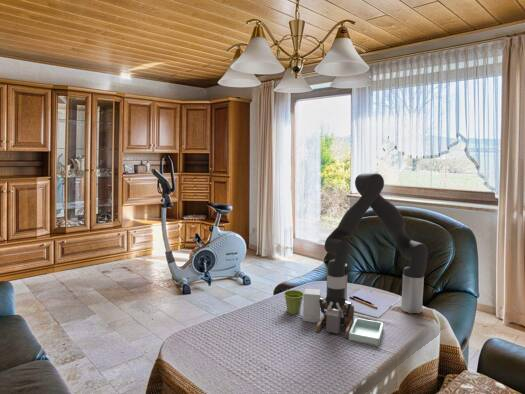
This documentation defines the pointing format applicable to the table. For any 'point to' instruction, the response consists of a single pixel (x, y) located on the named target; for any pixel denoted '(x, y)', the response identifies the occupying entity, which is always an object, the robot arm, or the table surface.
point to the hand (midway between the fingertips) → (334, 323)
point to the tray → (366, 331)
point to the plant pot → (293, 300)
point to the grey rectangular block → (333, 321)
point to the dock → (348, 322)
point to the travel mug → (346, 281)
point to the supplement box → (311, 305)
